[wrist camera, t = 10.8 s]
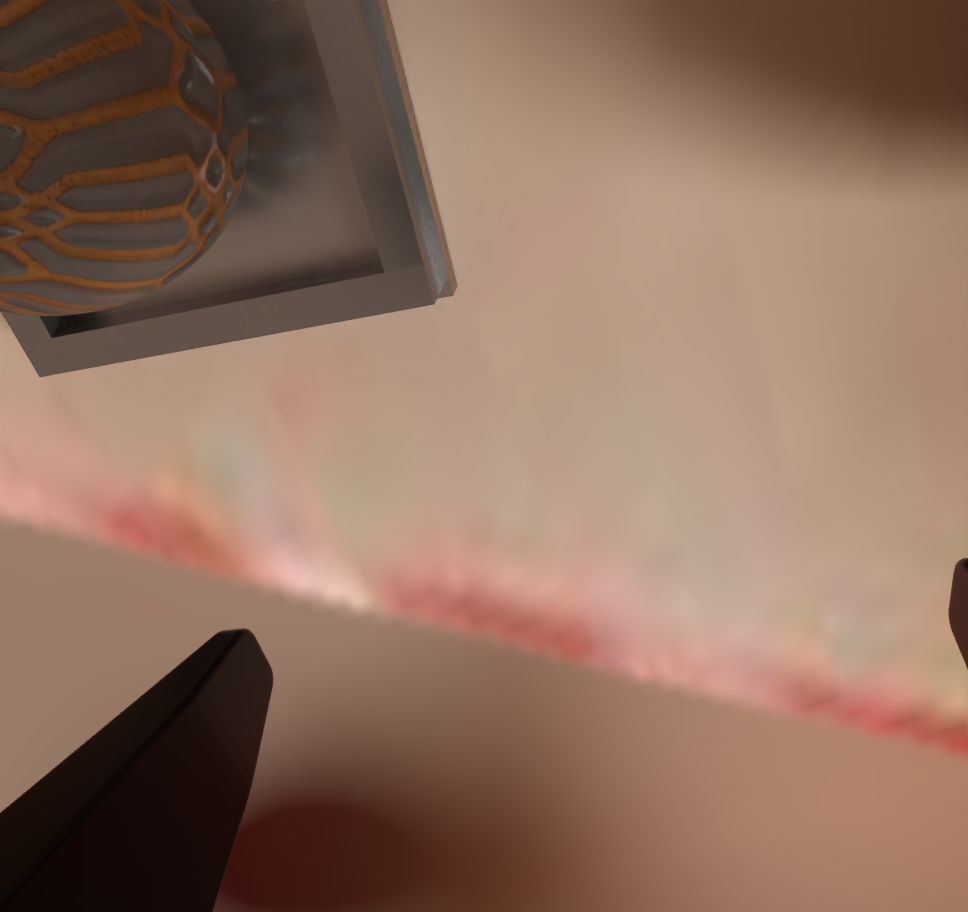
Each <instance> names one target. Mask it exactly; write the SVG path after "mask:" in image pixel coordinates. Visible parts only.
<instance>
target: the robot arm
mask: <svg viewBox="0 0 968 912" xmlns="http://www.w3.org/2000/svg"><path fill="white" fill-rule="evenodd" d="M948 613H949V622H950V626H951V630H952V632H953V635H954V637H955V640H956V642H957V645H958V647H959V649H960V652H961V654H962V657H963V659H964V661H965V664H966V666H967V669H968V558H964V559H961V560H959V561H958V562H957V564H956V565H955V569H954V574H953V581H952V589H951V596H950V603H949V612H948ZM272 687H273V673H272V669H271V666H270V664H269V662H268V660H267V658H266V657H265V655H264V653H263V651H262V649H261V647H260V645H259V643H258V641H257V640H256V638H255V636H254V634H253V633H252V632H251V631H250V630H248V629H244V628H242V629H233V630H224V631H220V632H218V633H217V634H215V635H214V636H213V637H212V638H211V639H209V640H208V641H207V642H206V643H204V644H203V645H202V646H201V647H200V648H199V649H197V650H196V651H195V652H194V653H192V654H191V655H190V656H189V657H188V658H186V659H185V660H184V661H183V662H182V663H180V664H179V665H178V666H177V667H176V668H174V669H173V670H172V671H171V672H170V673H168V674H167V675H166V676H165V677H163V678H162V679H161V680H160V681H159V682H157V683H156V684H155V685H154V686H153V687H152V688H150V689H149V690H148V691H147V692H145V693H144V694H143V695H142V696H141V697H139V698H138V699H137V700H136V701H135V702H133V703H132V704H131V705H130V706H129V707H127V708H126V709H125V710H124V711H122V712H121V713H120V714H119V715H118V716H116V717H115V718H114V719H113V720H112V721H110V722H109V723H108V724H107V725H106V726H104V727H103V728H102V729H101V730H100V731H98V732H97V733H96V734H95V735H94V736H92V737H91V738H90V739H89V740H88V741H86V742H85V743H84V744H83V745H81V746H80V747H79V748H78V749H77V750H76V751H74V752H73V753H72V754H71V755H69V756H68V757H67V758H66V759H65V760H63V761H62V762H61V763H60V764H59V765H57V766H56V767H55V768H54V769H53V770H51V771H50V772H49V773H48V774H47V775H45V776H44V777H43V778H42V779H41V780H39V781H38V782H37V783H36V784H35V785H33V786H32V787H31V788H30V789H28V790H27V791H26V792H25V793H24V794H23V795H21V796H20V797H19V798H18V799H17V800H15V801H14V802H13V803H12V804H10V805H9V806H8V807H7V808H6V809H4V810H3V811H2V812H1V813H0V912H213V909H214V906H215V903H216V900H217V896H218V893H219V890H220V887H221V883H222V880H223V877H224V874H225V871H226V868H227V865H228V861H229V858H230V855H231V851H232V849H233V845H234V842H235V839H236V836H237V832H238V830H239V826H240V823H241V820H242V817H243V813H244V810H245V807H246V804H247V800H248V797H249V793H250V789H251V786H252V782H253V778H254V773H255V769H256V764H257V759H258V755H259V750H260V745H261V740H262V735H263V730H264V726H265V721H266V716H267V711H268V706H269V701H270V697H271V692H272Z"/></svg>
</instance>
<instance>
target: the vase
mask: <svg viewBox="0 0 968 912" xmlns="http://www.w3.org/2000/svg"><path fill="white" fill-rule="evenodd" d="M247 159H248V130H247V121H246V114H245V109H244V104H243V99H242V95H241V92H240V88H239V85H238V82H237V79H236V77H235V74H234V71H233V69H232V67H231V64H230V62H229V60H228V58H227V56H226V54H225V52H224V50H223V48H222V46H221V45H220V43H219V41H218V39H217V38H216V36H215V34H214V33H213V31H212V30H211V28H210V27H209V25H208V24H207V22H206V21H205V20H204V18H203V17H202V16H201V14H200V13H199V12H198V10H197V9H196V8H195V7H194V6H193V4H192V3H191V2H190V1H189V0H0V312H4V313H10V314H17V315H30V316H62V315H74V314H82V313H89V312H94V311H100V310H105V309H109V308H113V307H116V306H120V305H123V304H127V303H129V302H132V301H134V300H137V299H139V298H142V297H145V296H147V295H149V294H151V293H153V292H155V291H157V290H159V289H160V288H162V287H163V286H165V285H167V284H168V283H170V282H171V281H173V280H174V279H176V278H177V277H179V276H180V275H181V274H182V273H184V272H185V271H186V270H187V269H189V268H190V267H191V266H192V265H193V264H195V263H196V262H197V261H198V260H199V259H200V258H201V257H202V256H203V255H204V254H205V253H206V252H207V251H208V250H209V248H210V247H211V246H212V245H213V244H214V243H215V241H216V240H217V239H218V238H219V236H220V235H221V233H222V232H223V230H224V228H225V227H226V225H227V223H228V221H229V219H230V217H231V215H232V213H233V211H234V209H235V207H236V204H237V202H238V199H239V196H240V193H241V190H242V186H243V181H244V177H245V173H246V167H247Z"/></svg>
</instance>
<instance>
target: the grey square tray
mask: <svg viewBox="0 0 968 912" xmlns="http://www.w3.org/2000/svg"><path fill="white" fill-rule="evenodd" d="M189 1H190V2H191V3H192V4H193V6H194V7H195V8H196V9H197V10H198V12H199V13H200V14H201V16H202V17H203V18H204V20H205V21H206V22H207V24H208V25H209V27H210V28H211V30H212V31H213V33H214V34H215V36H216V38H217V39H218V41H219V43H220V45H221V46H222V48H223V50H224V52H225V54H226V56H227V58H228V60H229V62H230V64H231V67H232V69H233V71H234V74H235V77H236V79H237V82H238V85H239V88H240V92H241V95H242V99H243V104H244V109H245V114H246V121H247V130H248V159H247V167H246V173H245V177H244V181H243V186H242V190H241V193H240V196H239V199H238V202H237V204H236V207H235V209H234V211H233V213H232V215H231V217H230V219H229V221H228V223H227V225H226V227H225V228H224V230H223V232H222V233H221V235H220V236H219V238H218V239H217V240H216V241H215V243H214V244H213V245H212V246H211V247H210V248H209V250H208V251H207V252H206V253H205V254H204V255H203V256H202V257H201V258H200V259H199V260H198V261H197V262H196V263H195V264H193V265H192V266H191V267H190V268H189V269H187V270H186V271H185V272H184V273H182V274H181V275H180V276H179V277H177V278H176V279H174V280H173V281H171V282H170V283H168V284H167V285H165V286H163V287H162V288H160V289H159V290H157V291H155V292H153V293H151V294H149V295H147V296H145V297H142V298H139V299H137V300H134V301H132V302H129V303H127V304H123V305H120V306H116V307H113V308H109V309H105V310H100V311H94V312H89V313H82V314H74V315H62V316H30V315H17V314H10V313H4V312H2V314H3V316H4V317H5V319H6V321H7V322H8V324H9V326H10V328H11V329H12V331H13V333H14V334H15V336H16V338H17V339H18V341H19V343H20V345H21V346H22V348H23V350H24V351H25V353H26V355H27V356H28V358H29V360H30V362H31V363H32V365H33V367H34V368H35V370H36V372H37V373H38V375H39V377H44V376H49V375H54V374H60V373H65V372H71V371H76V370H81V369H87V368H92V367H98V366H103V365H109V364H114V363H119V362H125V361H130V360H136V359H141V358H146V357H152V356H157V355H163V354H168V353H173V352H179V351H184V350H190V349H195V348H200V347H206V346H211V345H217V344H222V343H228V342H233V341H238V340H244V339H249V338H255V337H260V336H265V335H271V334H276V333H282V332H287V331H292V330H298V329H303V328H309V327H314V326H319V325H325V324H330V323H336V322H341V321H346V320H352V319H357V318H363V317H368V316H374V315H379V314H384V313H390V312H395V311H401V310H406V309H411V308H417V307H422V306H428V305H433V304H435V302H436V300H437V299H438V298H443V297H449V296H453V295H454V292H455V290H456V288H457V283H456V279H455V274H454V270H453V266H452V262H451V258H450V254H449V250H448V246H447V242H446V238H445V234H444V230H443V226H442V222H441V218H440V214H439V210H438V206H437V202H436V198H435V194H434V190H433V186H432V182H431V178H430V174H429V170H428V166H427V162H426V158H425V154H424V150H423V146H422V141H421V137H420V133H419V129H418V125H417V121H416V117H415V113H414V109H413V105H412V101H411V97H410V93H409V89H408V85H407V81H406V77H405V73H404V69H403V65H402V61H401V57H400V53H399V49H398V45H397V41H396V37H395V33H394V29H393V25H392V21H391V17H390V12H389V8H388V4H387V0H189Z"/></svg>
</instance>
